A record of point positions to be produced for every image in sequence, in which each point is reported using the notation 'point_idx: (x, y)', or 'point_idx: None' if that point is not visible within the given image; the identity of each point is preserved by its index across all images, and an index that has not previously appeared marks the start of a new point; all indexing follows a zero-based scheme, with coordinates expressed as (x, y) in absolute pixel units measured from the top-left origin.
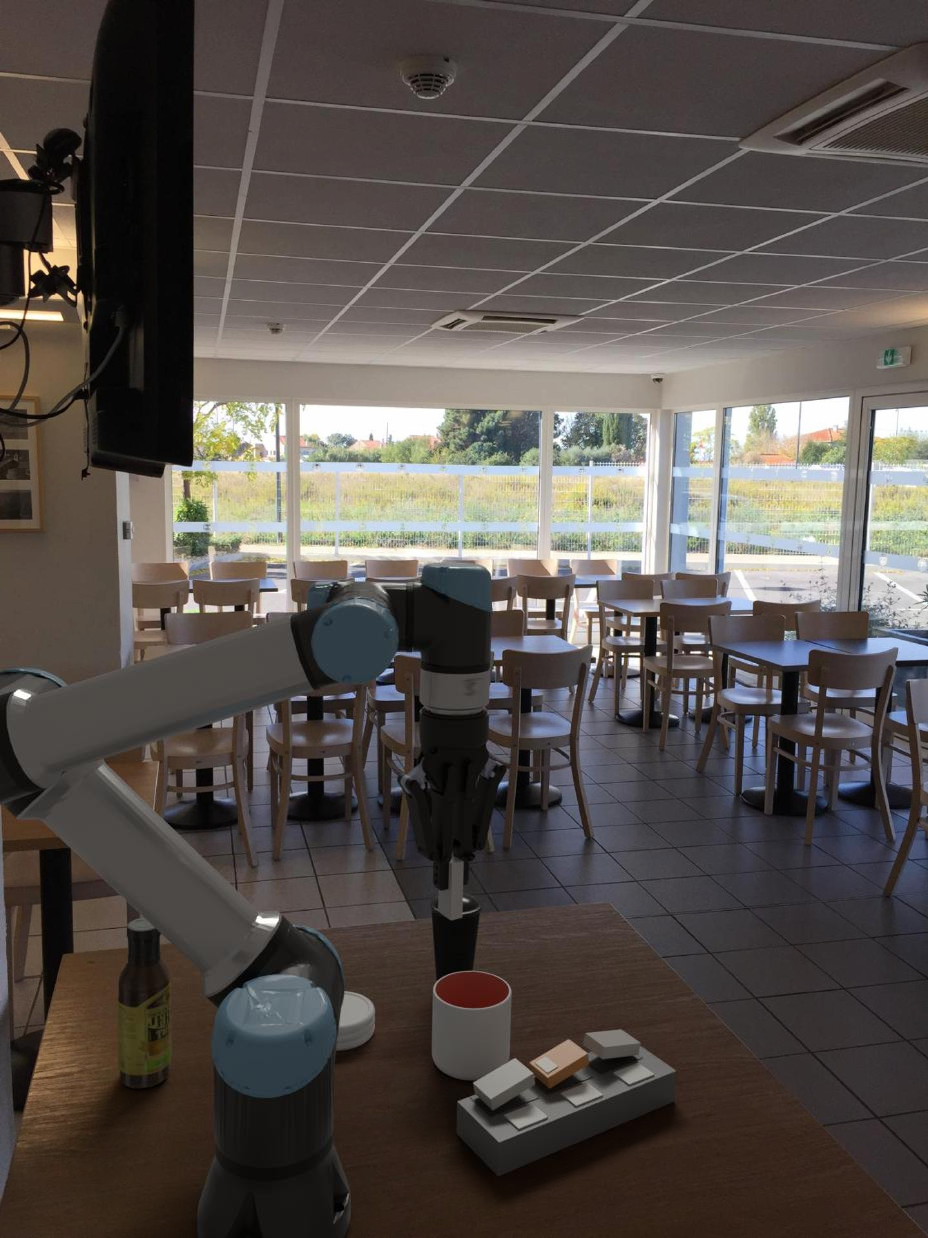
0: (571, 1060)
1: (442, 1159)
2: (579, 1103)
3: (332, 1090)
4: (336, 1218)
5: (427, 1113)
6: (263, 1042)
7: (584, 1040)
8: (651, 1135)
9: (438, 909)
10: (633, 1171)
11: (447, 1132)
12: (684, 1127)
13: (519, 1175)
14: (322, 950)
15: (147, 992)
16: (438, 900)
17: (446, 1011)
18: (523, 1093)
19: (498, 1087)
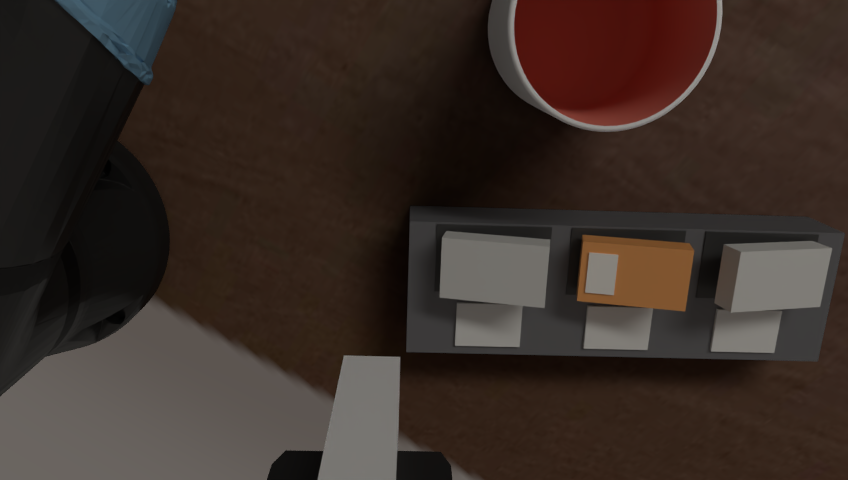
0: (646, 301)
1: (353, 246)
2: (593, 347)
3: (6, 383)
4: (104, 333)
5: (397, 126)
6: None
7: (730, 248)
8: (679, 375)
9: (343, 361)
10: (589, 419)
11: (399, 192)
12: (738, 388)
13: None
14: (12, 38)
15: None
16: (340, 378)
17: (508, 53)
18: None
19: (470, 285)
